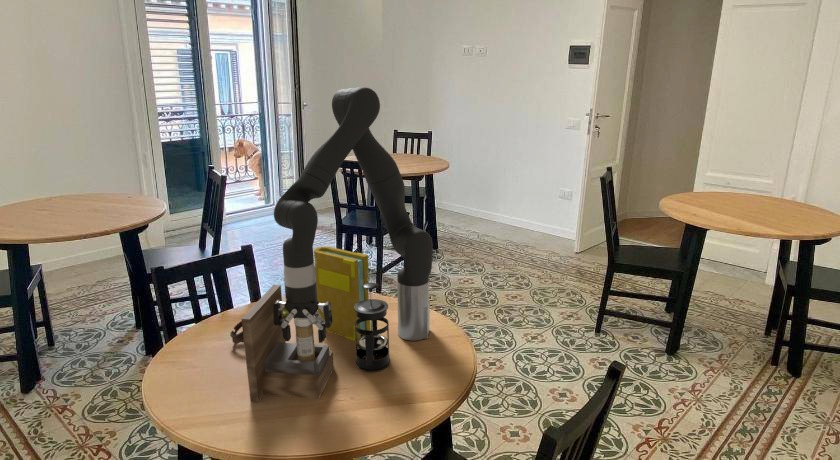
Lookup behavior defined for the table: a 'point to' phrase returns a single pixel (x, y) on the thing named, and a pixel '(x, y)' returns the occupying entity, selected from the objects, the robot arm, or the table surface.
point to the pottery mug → (237, 337)
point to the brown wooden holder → (280, 356)
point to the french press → (371, 333)
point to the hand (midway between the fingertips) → (304, 340)
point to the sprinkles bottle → (304, 339)
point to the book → (342, 287)
